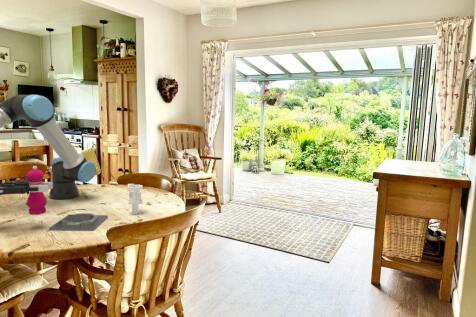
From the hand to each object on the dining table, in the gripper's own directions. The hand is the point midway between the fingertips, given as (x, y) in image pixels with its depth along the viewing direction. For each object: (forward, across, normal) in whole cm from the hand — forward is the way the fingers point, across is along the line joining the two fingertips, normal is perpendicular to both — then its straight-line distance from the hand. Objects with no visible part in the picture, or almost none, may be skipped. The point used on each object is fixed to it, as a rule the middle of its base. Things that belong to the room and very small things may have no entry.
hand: (49, 186), depth 137 cm
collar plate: (+11, -3, -18) cm, 21 cm away
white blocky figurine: (+33, -16, -18) cm, 41 cm away
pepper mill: (-5, 0, -11) cm, 12 cm away
